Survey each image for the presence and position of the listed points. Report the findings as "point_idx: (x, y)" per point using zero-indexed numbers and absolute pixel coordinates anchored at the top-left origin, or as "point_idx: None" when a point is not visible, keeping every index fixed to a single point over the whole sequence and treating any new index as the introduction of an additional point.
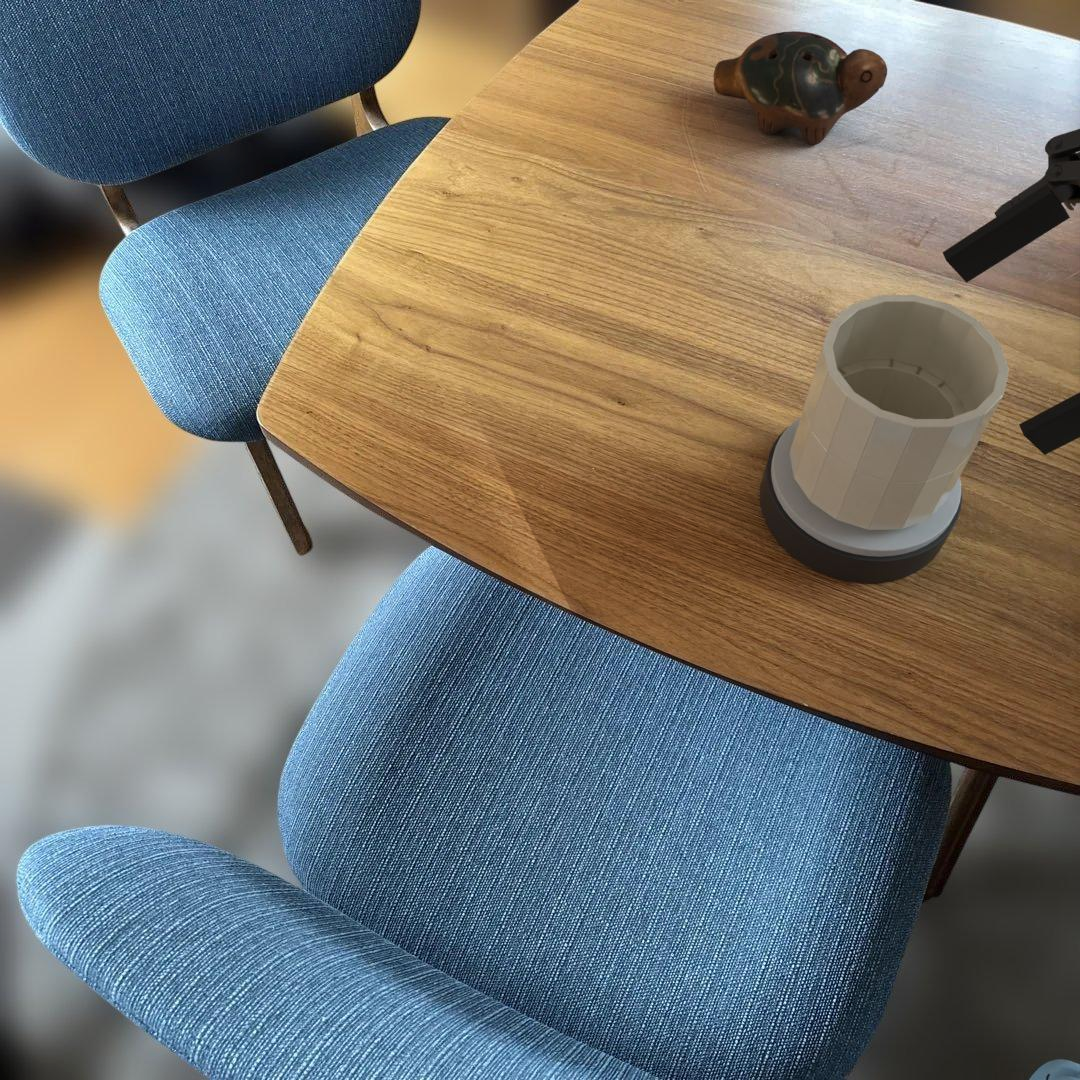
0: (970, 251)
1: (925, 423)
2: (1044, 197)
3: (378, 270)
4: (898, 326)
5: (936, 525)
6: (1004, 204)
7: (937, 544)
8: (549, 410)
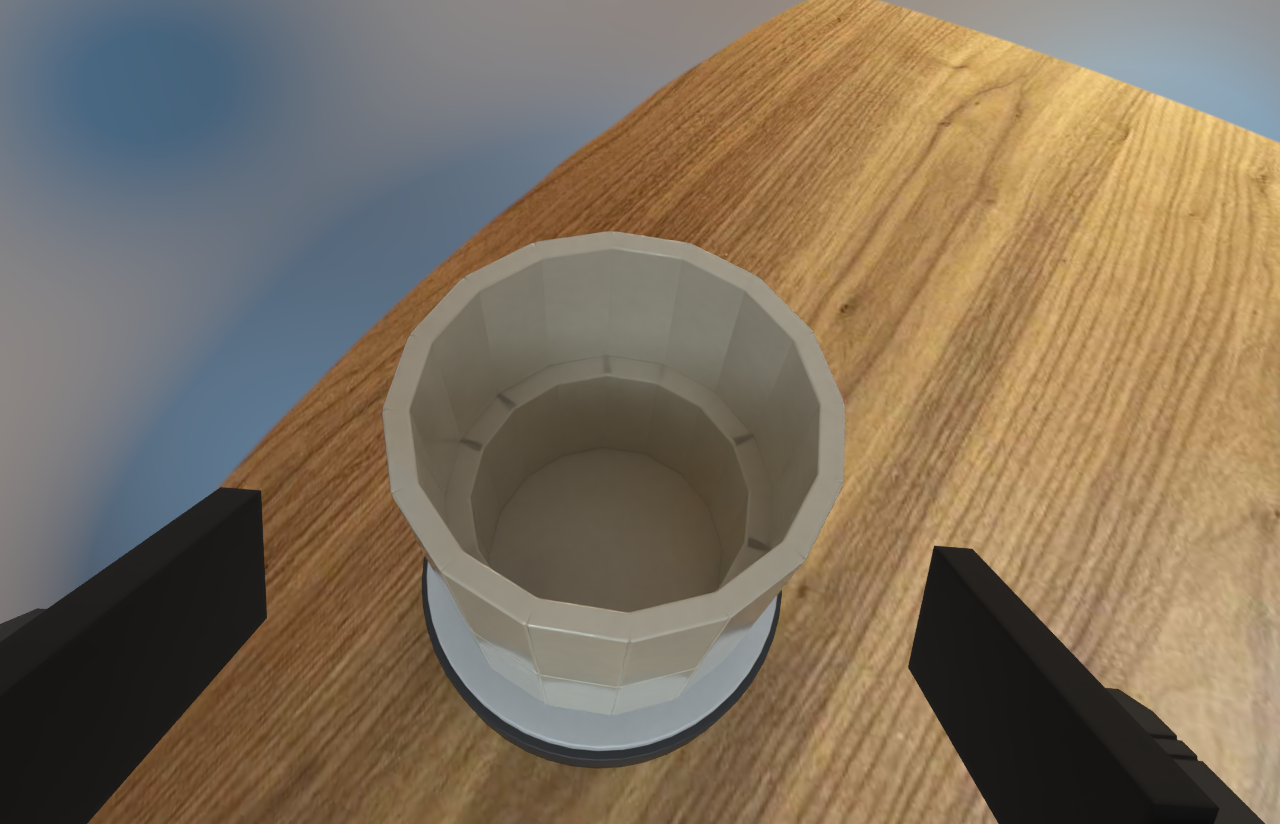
0: (958, 604)
1: (410, 356)
2: (1127, 776)
3: (1084, 95)
4: (795, 493)
5: (458, 645)
6: (1156, 721)
7: (434, 650)
8: (833, 225)
